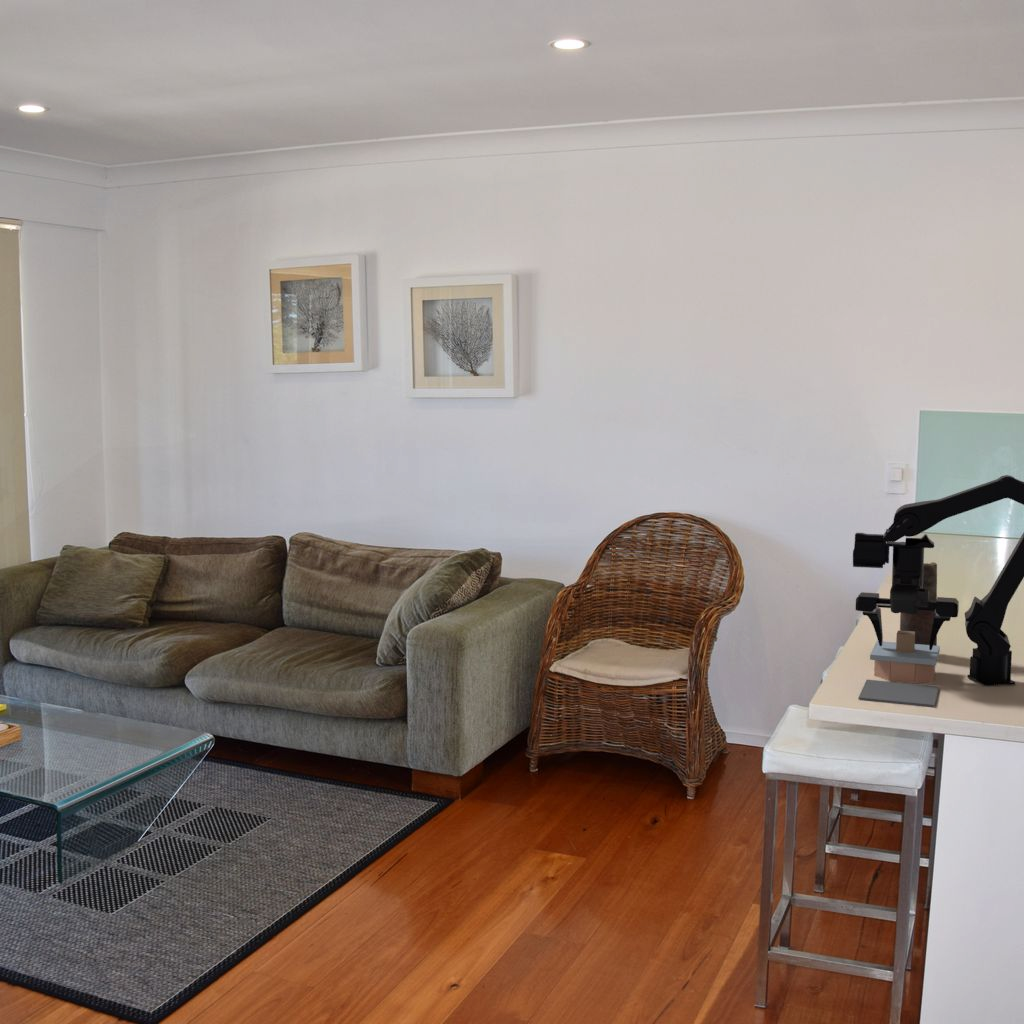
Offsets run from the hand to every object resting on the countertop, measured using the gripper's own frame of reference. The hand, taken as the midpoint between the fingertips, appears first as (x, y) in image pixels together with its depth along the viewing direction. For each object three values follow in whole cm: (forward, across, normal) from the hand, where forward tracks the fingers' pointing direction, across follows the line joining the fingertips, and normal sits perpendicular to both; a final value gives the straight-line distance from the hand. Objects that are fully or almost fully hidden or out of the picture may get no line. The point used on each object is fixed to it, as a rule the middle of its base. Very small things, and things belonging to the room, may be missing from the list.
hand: (905, 647), depth 218 cm
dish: (+6, 0, 0) cm, 6 cm away
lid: (+2, 0, 0) cm, 2 cm away
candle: (+6, +1, +18) cm, 19 cm away
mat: (+6, 0, -14) cm, 15 cm away
